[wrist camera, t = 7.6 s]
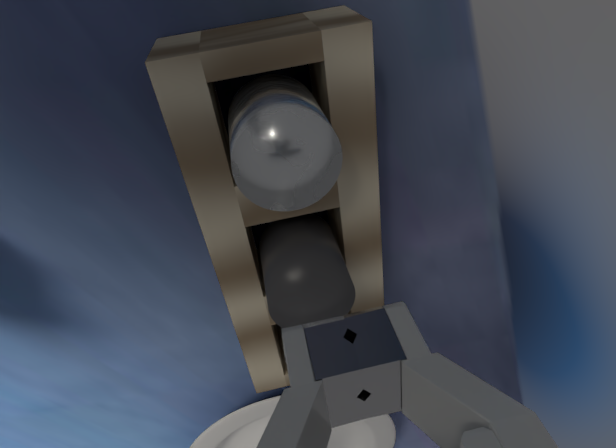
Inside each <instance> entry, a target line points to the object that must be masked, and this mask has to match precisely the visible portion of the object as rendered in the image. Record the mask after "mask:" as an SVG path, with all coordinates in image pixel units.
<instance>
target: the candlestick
mask: <svg viewBox="0 0 616 448" xmlns="http://www.w3.org/2000/svg"><path fill="white" fill-rule="evenodd" d="M280 397H281V396H276V397H272V398H268V399H265V400H262V401H258V402H256V403H253V404H250V405H248V406H245V407H243V408H240V409H238V410H236V411H234V412H232V413H230V414H228V415H226V416H225V417H223V418H221V419H220V420H218V421H217V422H215V423H214V424H212V425H211V426H210V427H208V428H207V429H206V430H205V431H204V432H203V433H202V434H200V435H199V436H198V438H197V439H196V440H195V441H194V442H193V443H192V445H191V446H190V448H256V447H257V445H258V443H259V441H260V439H261V437H262V435H263V433H264V431H265V428H266V426H267V424H268V422H269V420H270V418H271V416H272V414H273V412H274V410H275V407H276V405H277V403H278V401H279V399H280ZM331 429H332V432H331V435H330V439H329V442H328V445H327V448H393V447H394V444H395V439H396V430H395V426H394V423H393V421H392V419H391V417H390V416H389V414H385V415H380V416H376V417H371V418H367V419H363V420H359V421H356V422H352V423H348V424H345V425H341V426H338V427H334V428H331Z"/></svg>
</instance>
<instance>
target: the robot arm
mask: <svg viewBox="0 0 616 448" xmlns="http://www.w3.org/2000/svg"><path fill="white" fill-rule="evenodd" d="M303 328H304V329H303ZM282 339H283V345H284V351H285V357H286V363H287V369H288V375H289V381H290V388H286V389H284V391H283V393H282V395H281V397H280V399H279V401H278V403H277V405H276V407H275V410H274V412H273V414H272V416H271V418H270V420H269V422H268V424H267V426H266V428H265V431H264V433H263V435H262V437H261V439H260V441H259V443H258V445H257V447H256V448H327V445H328V442H329V439H330V435H331V432H332V429H331V428H334V427H338V426H341V425H345V424H348V423H352V422H356V421H359V420H363V419H367V418H371V417H376V416H380V415H385V414H390V413H394V412H399V411H402V413H403V414H404V415H405V416H406V417H407V418H409V419H410V420H411V421H412V422H413V423H414V424H415V425H416V426H418V427H419V428H420V429H421V430H422V431H423V432H424V433H425V434H426V435H428V436H429V437H430V438H431V439H432V440H433V441H434V442H435V443H436V444H438V445H439V446H440V447H441V448H558V446H557V445H556V443H555V442H554V440H553V439H552V437H551V436H550V435H549V433H548V431H547V430H546V429H545V427H544V426H543V424H542V423H541V421H540V420H539V418H538V417H537V415H536V414H535V412H533V411H532V410H530V409H528V408H526V407H525V406H524V405H522V404H520V403H519V402H517V401H515V400H514V399H512V398H511V397H509V396H507V395H506V394H504V393H503V392H501V391H499V390H498V389H496V388H494V387H493V386H491V385H490V384H488V383H486V382H485V381H483V380H481V379H480V378H478V377H477V376H475V375H473V374H472V373H470V372H469V371H467V370H465V369H464V368H462V367H460V366H459V365H457V364H456V363H454V362H452V361H451V360H449V359H447V358H446V357H444V356H443V355H441V354H439V353H438V352H437V353H432V354H431V352H430V350H429V348H428V346H427V344H426V342H425V340H424V338H423V337H422V335H421V333H420V331H419V329H418V327H417V325H416V323H415V321H414V319H413V317H412V315H411V314H410V312H409V310H408V308H407V306H406V304H405V303H404V302H402V301H401V302H397V303H393V304H388V305H384V306H382V307H381V306H379V307H375V308H371V309H367V310H362V311H358V312H354V313H350V314H346V315H342V316H339V317H334V318H329V319H325V320H320V321H315V322H310V323H305V324H303V326H302V324H301V325H297V326H292V327H287V328H282Z"/></svg>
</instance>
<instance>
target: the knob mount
mask: <svg viewBox="0 0 616 448" xmlns="http://www.w3.org/2000/svg"><path fill="white" fill-rule="evenodd" d="M305 64H309V71H310V79H311V87H312V95H313V96H314V98H315V100H316V101H317V103H318V105H319V106H320V108H321V110H322V111H323V113H324V115H325V116H326V118H327V120H328V121H329V123H330V124H331V126H332V128H333V129H334V131H335V133H336V134H337V136H338V138H339V141H340V144H341V148H342V158H343V160H342V167H341V171H340V174H339V176H338V179H337V181H336V182H335V184H334V186H333V187H332V188H331V190H330V191H329V192H328V193H327V194H326V195H325V196H324V197H323V198H321V199H320V200H319V201H317V202H316V203H314V204H312V205H310V206H308V207H305V208H303V209H299V210H294V211H284V212H282V211H273V210H268V209H265V208H262V207H260V206H258V205H256V204H254V203H253V202H251V201H250V200H249V199H247V198H246V197H245V196H244V195H243V194H242V192H241V191H240V190H239V188H238V187H237V185H236V183H235V180H234V177H233V174H232V168H231V156H230V143H229V138H228V134H227V130H226V126H225V122H224V119H223V115H222V111H221V107H220V103H219V99H218V95H217V91H216V87H215V83H214V81H219V80H225V79H230V78H235V77H241V76H246V75H251V74H257V73H262V72H267V71H273V70H278V69H283V68H289V67H294V66H299V65H305ZM145 65H146V68H147V71H148V74H149V77H150V80H151V82H152V85H153V88H154V91H155V94H156V97H157V100H158V103H159V106H160V109H161V112H162V115H163V118H164V121H165V124H166V127H167V130H168V133H169V136H170V139H171V142H172V145H173V147H174V150H175V153H176V156H177V159H178V162H179V165H180V168H181V171H182V174H183V177H184V180H185V183H186V186H187V189H188V192H189V195H190V198H191V201H192V204H193V207H194V210H195V213H196V215H197V218H198V221H199V224H200V227H201V230H202V233H203V236H204V239H205V242H206V245H207V248H208V251H209V254H210V257H211V260H212V263H213V266H214V269H215V272H216V275H217V278H218V281H219V283H220V286H221V289H222V292H223V295H224V298H225V301H226V304H227V307H228V310H229V313H230V316H231V319H232V322H233V325H234V328H235V331H236V334H237V337H238V340H239V343H240V346H241V349H242V351H243V354H244V357H245V360H246V363H247V366H248V369H249V372H250V375H251V378H252V381H253V384H254V387H255V390H256V393H260V392H265V391H269V390H273V389H277V388H281V387H285V386H289V385H290V381H289V375H288V369H287V364H286V361H285V356H284V350H283V344H282V338H281V332H280V326H279V325H276V323H275V322H274V321H273V319H272V318H271V316H270V314H269V311H268V305H267V298H266V291H265V284H264V277H263V270H262V264H261V257H260V250H259V249H257V248H256V244H255V240H254V236H253V232H252V228H251V226H253V225H258V224H263V223H267V222H272V221H277V220H282V219H286V218H291V217H296V216H300V215H305V214H310V213H315V212H319V211H324V210H327V213H328V220H329V226H330V227H331V229H332V232H333V234H334V237H335V239H336V242H337V244H338V247H339V249H340V252H341V254H342V257H343V259H344V262H345V264H346V267H347V269H348V272H349V274H350V277H351V279H352V282H353V284H354V287H355V295H356V296H355V301H354V304H353V306H352V308H351V310H350V311H349V313H348V314H350V313H354V312H358V311H362V310H367V309H371V308H375V307H379V306H381V307H382V306H384V290H383V267H382V243H381V220H380V197H379V173H378V150H377V127H376V104H375V80H374V57H373V34H372V21H371V20H369V19H367V18H365V17H364V16H362V15H360V14H358V13H357V12H355V11H353V10H351V9H350V8H348V7H346V6H344V5H343V6H337V7H332V8H326V9H320V10H315V11H309V12H303V13H298V14H292V15H287V16H281V17H275V18H270V19H264V20H258V21H253V22H247V23H242V24H236V25H230V26H225V27H219V28H213V29H208V30H202V31H197V32H191V33H185V34H180V35H174V36H168V37H163V38H157V40H156V41H155V43H154V45H153V47H152V49H151V51H150V53H149V55H148V57H147V59H146V61H145Z"/></svg>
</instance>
